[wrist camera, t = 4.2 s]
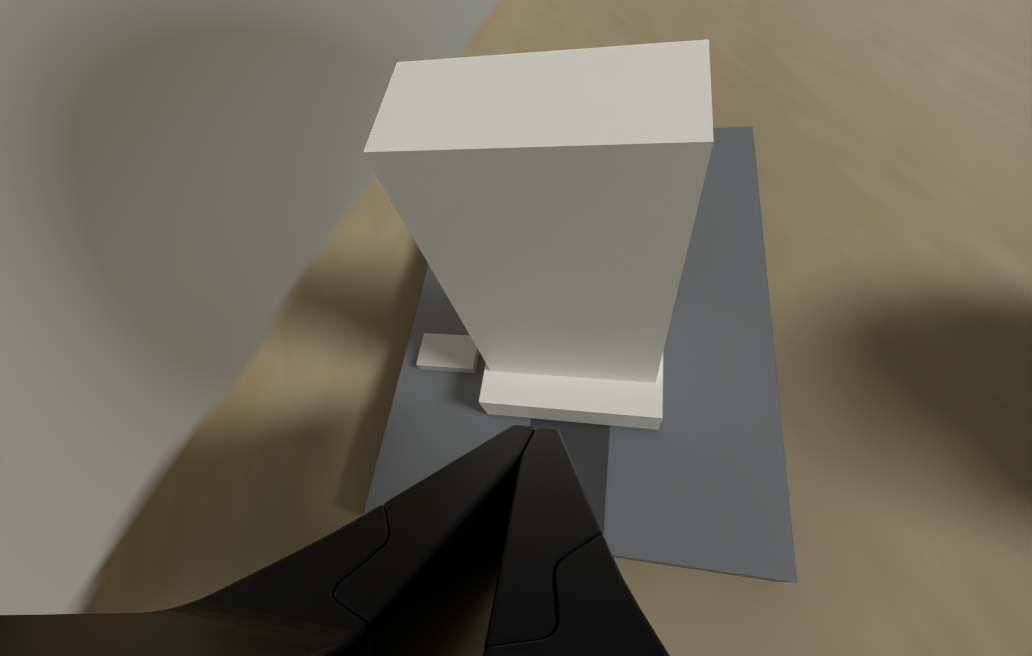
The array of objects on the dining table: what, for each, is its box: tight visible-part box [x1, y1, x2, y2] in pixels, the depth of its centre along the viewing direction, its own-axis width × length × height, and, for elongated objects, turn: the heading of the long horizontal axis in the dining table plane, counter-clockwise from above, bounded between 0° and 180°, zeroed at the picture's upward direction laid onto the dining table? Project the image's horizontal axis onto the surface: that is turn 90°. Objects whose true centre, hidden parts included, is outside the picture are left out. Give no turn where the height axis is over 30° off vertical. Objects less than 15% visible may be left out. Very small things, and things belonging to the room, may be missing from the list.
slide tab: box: [364, 39, 714, 430], centre depth 11 cm, size 4×5×10 cm
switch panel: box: [363, 127, 797, 582], centre depth 17 cm, size 16×12×2 cm
